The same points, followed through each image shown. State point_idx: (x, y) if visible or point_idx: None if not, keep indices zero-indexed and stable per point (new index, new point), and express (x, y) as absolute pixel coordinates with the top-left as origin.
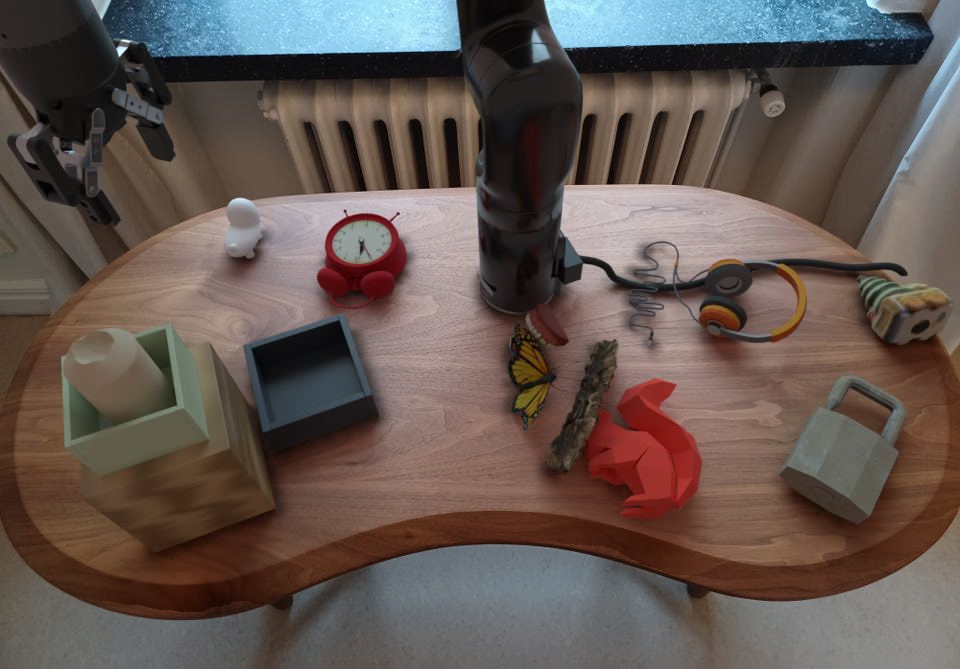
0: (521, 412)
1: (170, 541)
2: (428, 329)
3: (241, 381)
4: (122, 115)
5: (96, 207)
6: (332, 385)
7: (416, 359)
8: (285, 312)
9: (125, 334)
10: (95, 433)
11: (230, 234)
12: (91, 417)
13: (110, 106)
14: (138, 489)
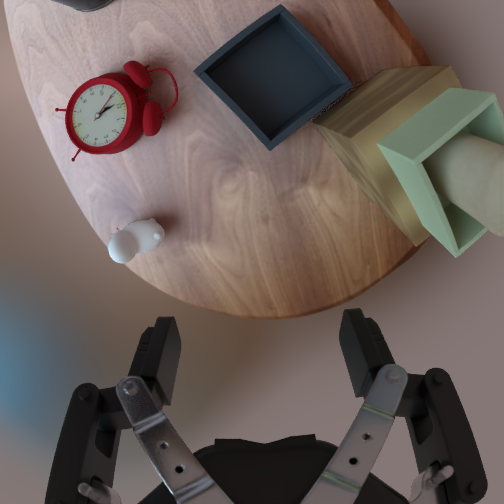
0: None
1: None
2: (167, 15)
3: (285, 149)
4: (216, 460)
5: (382, 349)
6: (263, 62)
7: (205, 9)
8: (197, 151)
9: (500, 180)
10: None
11: (147, 244)
12: None
13: (237, 498)
14: None
